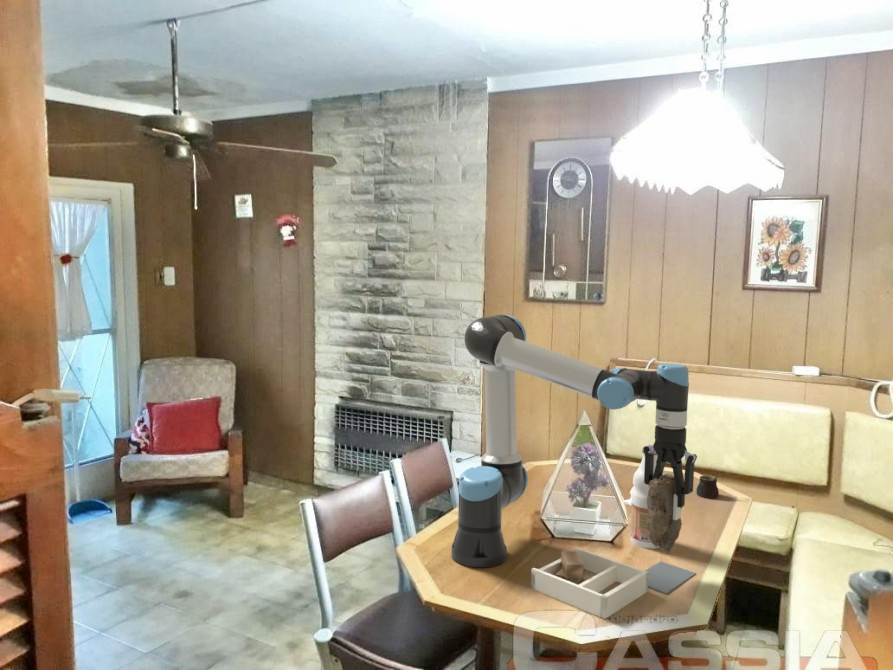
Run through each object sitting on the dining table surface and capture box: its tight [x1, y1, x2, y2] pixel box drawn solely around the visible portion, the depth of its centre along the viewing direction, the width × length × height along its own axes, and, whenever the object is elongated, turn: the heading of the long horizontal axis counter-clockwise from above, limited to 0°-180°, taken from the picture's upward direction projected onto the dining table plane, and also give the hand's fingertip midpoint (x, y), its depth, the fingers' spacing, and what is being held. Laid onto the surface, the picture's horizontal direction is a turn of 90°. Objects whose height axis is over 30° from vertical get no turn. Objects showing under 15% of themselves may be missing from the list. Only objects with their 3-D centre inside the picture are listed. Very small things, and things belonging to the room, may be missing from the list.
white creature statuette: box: [624, 480, 635, 507], centre depth 232 cm, size 10×9×12 cm
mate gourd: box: [695, 473, 722, 500], centre depth 242 cm, size 7×8×10 cm
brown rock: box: [647, 473, 683, 555], centre depth 179 cm, size 14×5×20 cm, turn 134°
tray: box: [530, 546, 649, 620], centre depth 174 cm, size 21×19×5 cm
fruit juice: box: [629, 448, 666, 550], centre depth 202 cm, size 9×9×28 cm
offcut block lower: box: [555, 569, 583, 585], centre depth 178 cm, size 4×8×4 cm, turn 146°
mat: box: [644, 561, 697, 595], centre depth 181 cm, size 10×16×1 cm, turn 135°
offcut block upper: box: [560, 550, 584, 580], centre depth 177 cm, size 4×8×4 cm, turn 0°
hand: (666, 515), depth 179 cm, fingers closed on brown rock, 5 cm apart
